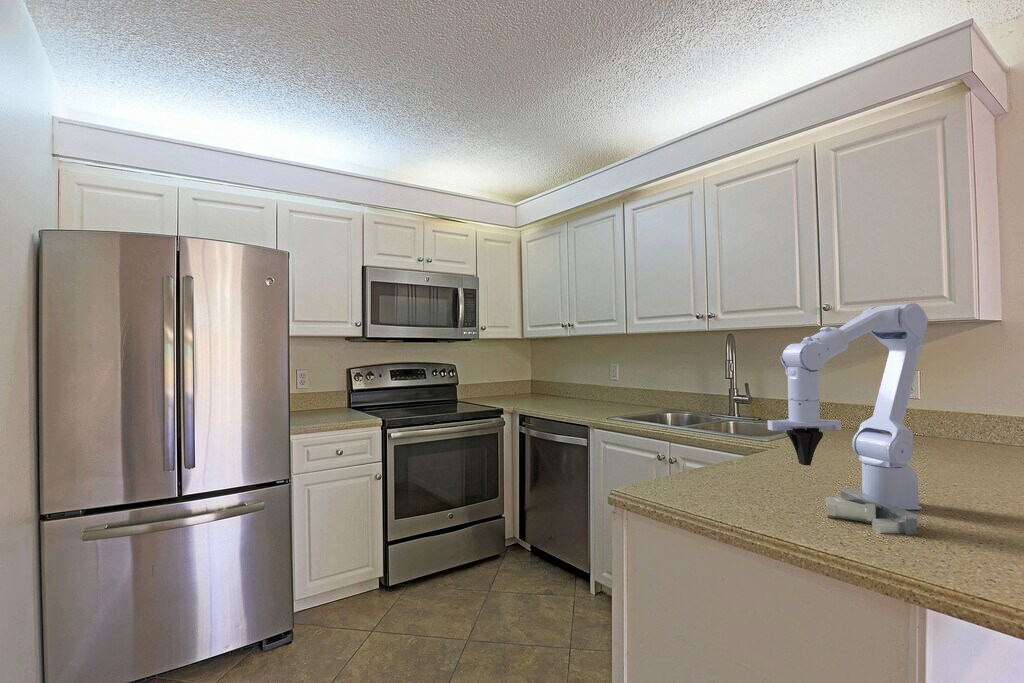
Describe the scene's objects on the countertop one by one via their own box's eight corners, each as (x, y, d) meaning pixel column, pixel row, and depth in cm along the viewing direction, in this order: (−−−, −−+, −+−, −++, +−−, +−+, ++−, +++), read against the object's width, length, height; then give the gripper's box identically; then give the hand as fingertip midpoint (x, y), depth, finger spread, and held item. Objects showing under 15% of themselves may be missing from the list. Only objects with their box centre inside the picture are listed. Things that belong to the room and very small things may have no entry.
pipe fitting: (827, 512, 105) (826, 519, 100) (826, 494, 106) (826, 499, 100) (873, 519, 101) (876, 526, 95) (873, 500, 101) (875, 506, 96)
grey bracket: (853, 504, 109) (852, 488, 109) (920, 535, 91) (919, 515, 91) (822, 504, 109) (822, 488, 109) (884, 535, 91) (883, 516, 91)
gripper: (825, 397, 109) (826, 459, 109) (759, 398, 109) (761, 460, 109) (847, 400, 102) (848, 467, 102) (777, 401, 102) (778, 468, 102)
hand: (804, 464), depth 105 cm, fingers closed
